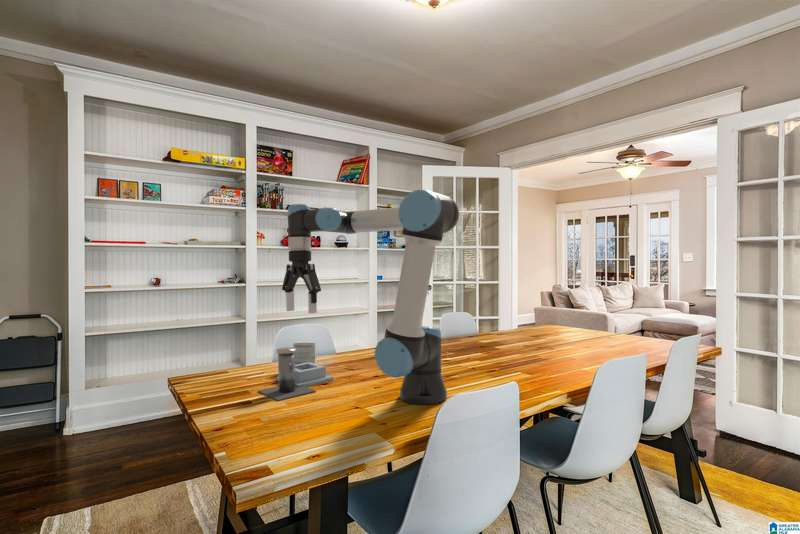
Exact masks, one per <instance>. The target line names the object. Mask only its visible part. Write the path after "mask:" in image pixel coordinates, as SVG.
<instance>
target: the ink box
mask: <svg viewBox="0 0 800 534" xmlns="http://www.w3.org/2000/svg"><path fill="white" fill-rule="evenodd" d="M292 348H296V352H295V365H296V364H302V363H307V362H311V363H315V364H317V341H316V340H311V341H309V340H308V341H306V340H305V341H304V340H303V341H301V340H300V341H295V342H293V347H292Z"/></svg>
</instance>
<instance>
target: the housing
mask: <svg viewBox="0 0 800 534" xmlns="http://www.w3.org/2000/svg"><path fill="white" fill-rule="evenodd" d="M326 370H327V368H326V366H324V365H320V364H317V363H316V364H315V363H311V362H307V363H302V364H296V365H295V387H302V386H305V387H310V386H314V385H315V386H316V385H319V384H323V383H328V382H331V381H334V376H331V375H328V374H327V371H326ZM275 378H276V381H277V382H279V376H276V377H275Z"/></svg>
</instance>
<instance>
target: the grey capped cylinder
mask: <svg viewBox="0 0 800 534" xmlns="http://www.w3.org/2000/svg"><path fill="white" fill-rule="evenodd" d="M295 352H296V348H293V347H291V346H290V347H289V346H288V347H279V348H277V349H276V354H277V357H278V358H277V359H278V360H277V361H278V362H277V364H278V370H277V371H278V377H279V381H278V386H279V392H281V393H289V392H293V391H295Z"/></svg>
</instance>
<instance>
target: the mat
mask: <svg viewBox="0 0 800 534" xmlns="http://www.w3.org/2000/svg"><path fill="white" fill-rule="evenodd" d="M316 392H317V390H316V389H312V388H310V387H309V386H307V387H305V386H302V387H295V391H293V392H289V393H281V392H279V385H277V386H272V387H268V388H267V387H266V388H263V389H259V390H257V393H259V394H262V395H264V396H266V397H269V398H270V399H273V400H275V401H277V402H280V401H284V400H288V399H293V398H296V397H300V396H305V395H308V394H312V393H316Z"/></svg>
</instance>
